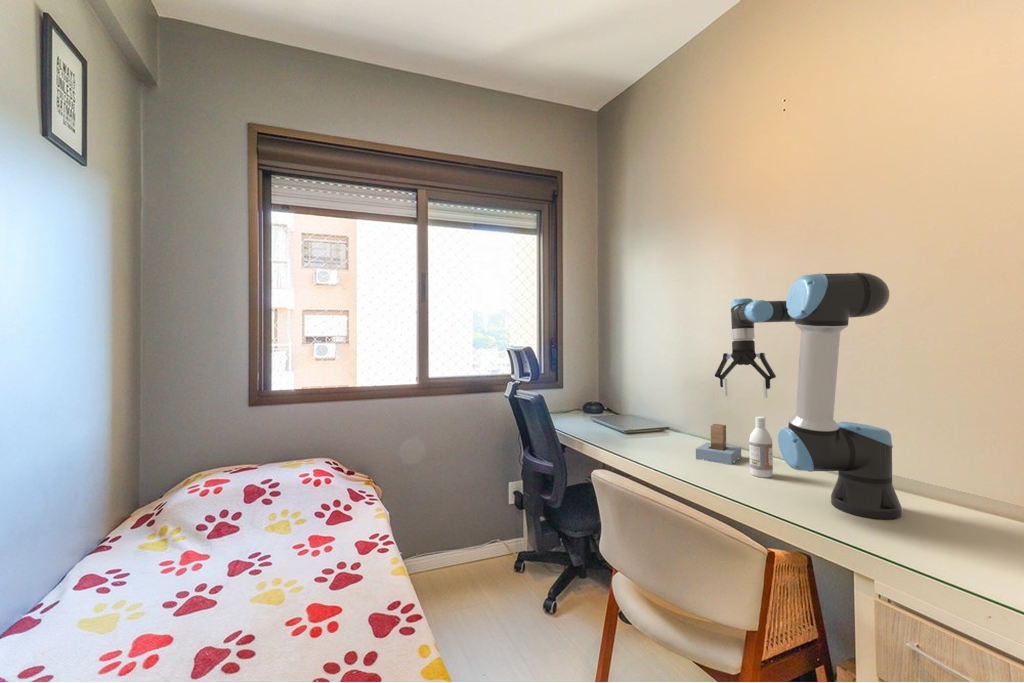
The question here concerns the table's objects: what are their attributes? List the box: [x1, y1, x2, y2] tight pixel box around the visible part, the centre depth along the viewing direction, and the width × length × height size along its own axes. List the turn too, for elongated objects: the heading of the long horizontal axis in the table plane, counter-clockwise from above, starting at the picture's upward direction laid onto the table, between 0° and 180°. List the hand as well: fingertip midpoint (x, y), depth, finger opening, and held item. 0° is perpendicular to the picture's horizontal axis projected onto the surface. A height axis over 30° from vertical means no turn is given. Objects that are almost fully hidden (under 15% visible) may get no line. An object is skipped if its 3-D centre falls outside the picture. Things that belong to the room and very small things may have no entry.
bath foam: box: [748, 416, 774, 479], centre depth 152 cm, size 7×7×20 cm
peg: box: [710, 423, 727, 451], centre depth 174 cm, size 4×4×13 cm
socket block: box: [695, 442, 742, 465], centre depth 174 cm, size 13×13×4 cm
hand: (744, 397), depth 164 cm, fingers open, 13 cm apart
